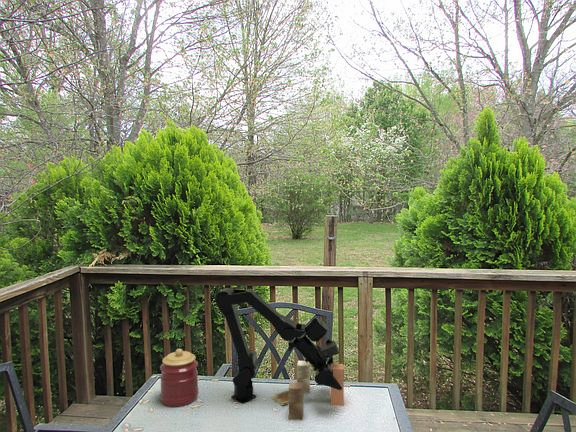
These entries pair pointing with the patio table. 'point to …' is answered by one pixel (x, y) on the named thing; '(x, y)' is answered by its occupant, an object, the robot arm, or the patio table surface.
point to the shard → (282, 398)
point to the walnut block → (296, 401)
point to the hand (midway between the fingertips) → (341, 383)
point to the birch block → (304, 375)
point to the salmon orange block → (338, 373)
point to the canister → (179, 378)
